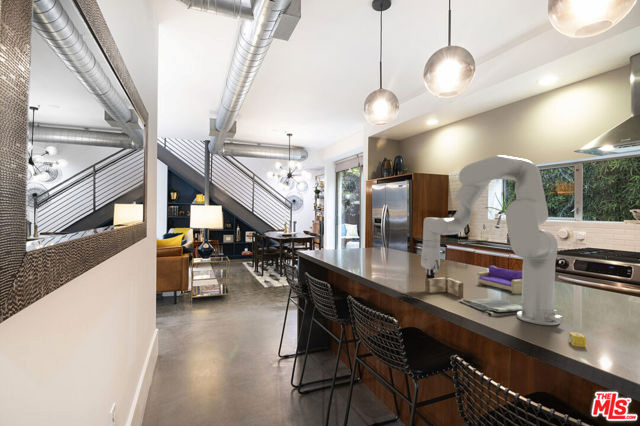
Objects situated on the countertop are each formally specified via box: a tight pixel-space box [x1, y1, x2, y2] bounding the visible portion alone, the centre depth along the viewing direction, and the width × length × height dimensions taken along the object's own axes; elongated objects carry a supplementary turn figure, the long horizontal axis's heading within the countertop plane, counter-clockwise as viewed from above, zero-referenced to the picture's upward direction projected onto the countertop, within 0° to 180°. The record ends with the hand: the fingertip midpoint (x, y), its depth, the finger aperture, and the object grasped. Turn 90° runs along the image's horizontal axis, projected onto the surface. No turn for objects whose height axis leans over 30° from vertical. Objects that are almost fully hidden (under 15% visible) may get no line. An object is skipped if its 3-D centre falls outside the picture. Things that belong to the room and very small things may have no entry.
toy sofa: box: [476, 265, 522, 295], centre depth 158 cm, size 21×9×10 cm, turn 21°
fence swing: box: [424, 277, 446, 294], centre depth 149 cm, size 10×2×6 cm, turn 104°
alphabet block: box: [567, 331, 587, 348], centre depth 93 cm, size 3×3×3 cm
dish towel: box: [457, 297, 522, 318], centre depth 128 cm, size 19×18×3 cm
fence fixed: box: [444, 276, 464, 299], centre depth 145 cm, size 12×2×7 cm, turn 12°
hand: (430, 283), depth 151 cm, fingers closed
